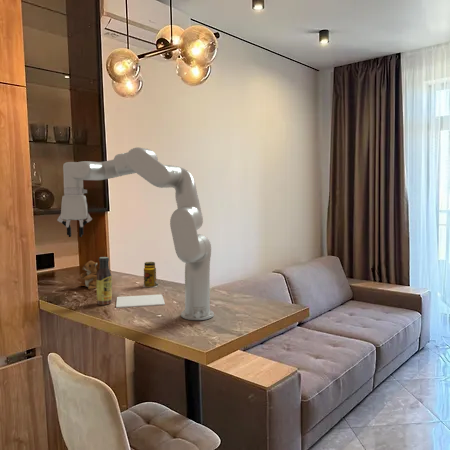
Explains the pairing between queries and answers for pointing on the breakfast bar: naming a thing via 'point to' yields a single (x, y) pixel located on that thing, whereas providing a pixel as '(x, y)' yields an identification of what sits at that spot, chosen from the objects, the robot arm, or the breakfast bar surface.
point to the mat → (139, 301)
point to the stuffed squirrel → (90, 275)
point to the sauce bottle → (104, 282)
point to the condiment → (150, 275)
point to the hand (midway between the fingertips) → (75, 236)
